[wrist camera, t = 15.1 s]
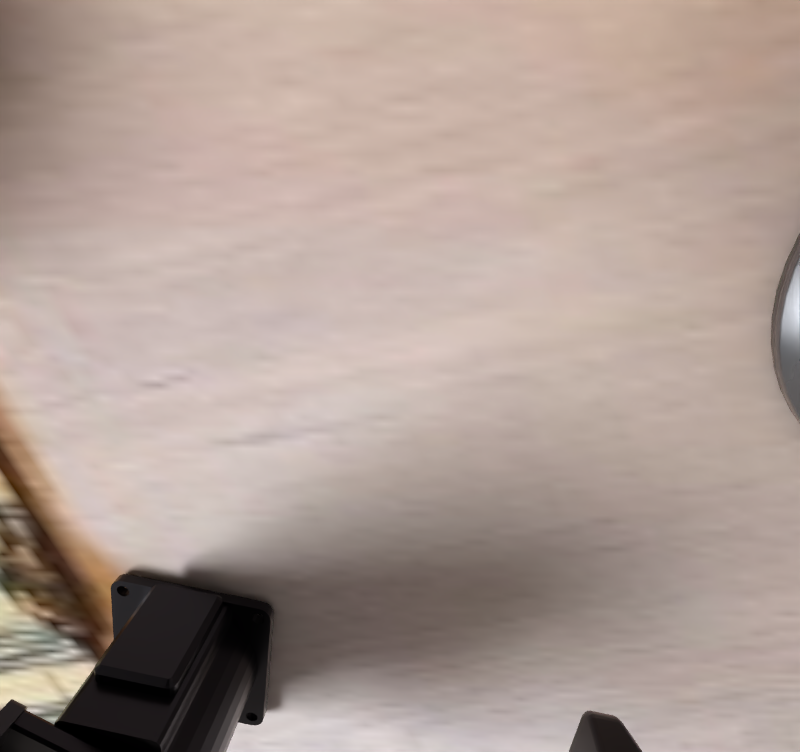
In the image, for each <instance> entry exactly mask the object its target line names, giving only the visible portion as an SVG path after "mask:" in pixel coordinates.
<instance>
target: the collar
mask: <svg viewBox="0 0 800 752" xmlns="http://www.w3.org/2000/svg"><path fill="white" fill-rule="evenodd" d="M771 347H772V355H773V363H774V369H775V372H776V376H777V379H778V383H779V386H780V390H781V392H782V394H783V396H784V398H785V400H786V402H787V404H788V406H789V408H790V410H791V412H792V413H793V414H794V416H795V417H796V419H797V420H798V421H799V423H800V234H799V236H798V238H797V240H796V242H795V244H794V247H793V249H792V251H791V253H790V255H789V257H788V259H787V262H786V264H785V267H784V270H783V273H782V276H781V279H780V282H779V285H778V289H777V292H776V298H775V303H774V309H773V314H772V330H771Z"/></svg>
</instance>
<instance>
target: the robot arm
mask: <svg viewBox="0 0 800 752" xmlns="http://www.w3.org/2000/svg"><path fill="white" fill-rule="evenodd" d="M125 587H126V588H125ZM111 599H112V616H113V633H114V640H113V642H112V643H111V645H110V646H109V647H108V649H107V650H106V651H105V653H104V654H103V656H102V657H101V658H100V660H99V661H98V662H97V664H96V665H95V668H94V669H93V671H92V672H91V674H90V675H89V676H88V678H87V679H86V680H85V682H84V683H83V685H82V686H81V687H80V689H79V690H78V692H77V693H76V694H75V696H74V697H73V698H72V700H71V701H70V703H69V704H68V705H67V707H66V708H65V709H64V711H63V712H62V714H61V715H60V716H59V718H58V719H57V721H56V722H55V724H52V723H50V722H48V721H46V720H44V719H42V718H40V717H38V716H36V715H34V714H32V713H30V712H28V711H26V709H27V707H26V706H24V705H22V704H20V703H18V702H16V701H14V700H13V699H11V700H10V701H9V702H8V703H7V704H6V706H5V707H4V708H3V709H2V710H1V711H0V752H226V750H227V748H228V745H229V743H230V740H231V738H232V736H233V733H234V731H235V728H236V726H237V723H238V722H240V723H244V724H249V725H259V724H260V723H262V721H263V718H264V716H265V713H266V708H267V695H268V682H269V669H270V656H271V644H272V631H273V618H274V612H273V609H272V607H271V606H270V605H269V604H267V603H265V602H262V601H258V600H253V599H248V598H243V597H238V596H233V595H228V594H223V593H218V592H213V591H208V590H203V589H198V588H193V587H188V586H183V585H178V584H173V583H168V582H163V581H158V580H153V579H148V578H143V577H138V576H133V575H128V574H123V575H120V576H119V577H118V578H117V579H116V581H115V582H114V583H113V584H112V586H111ZM258 614H261V615H262V616H260V615H258ZM569 752H642V750H641V749H640V748H639V746H638V745H637V743H636V742H635V740H634V739H633V737H632V736H631V735H630V733H629V732H628V730H627V729H626V727H625V726H624V724H623V723H622V722H621V721H620V720H619V719H618V718H617V717H615V716H613V715H609V714H604V713H599V712H594V711H587V712H585V713H584V714H583V716H582V718H581V720H580V723H579V726H578V728H577V731H576V734H575V736H574V739H573V742H572V744H571V747H570V750H569Z"/></svg>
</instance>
